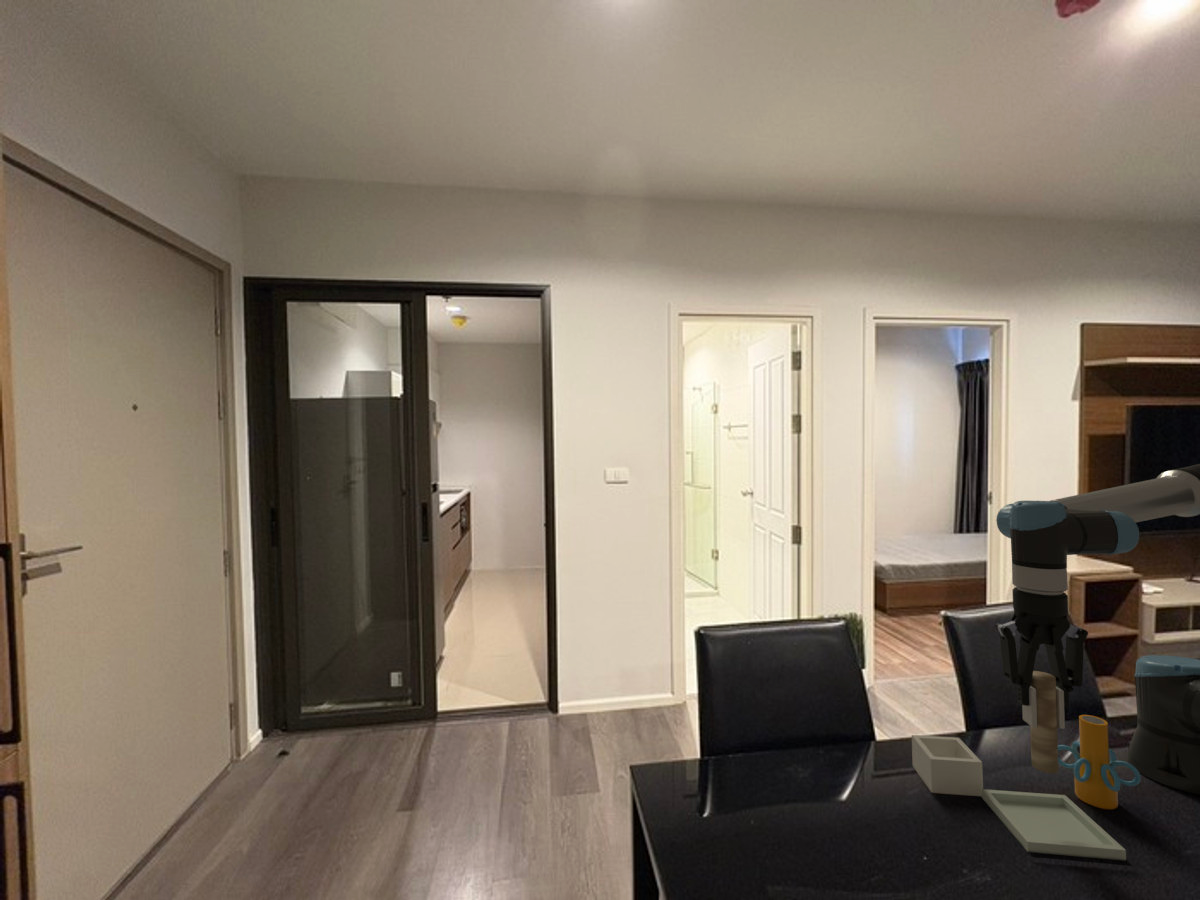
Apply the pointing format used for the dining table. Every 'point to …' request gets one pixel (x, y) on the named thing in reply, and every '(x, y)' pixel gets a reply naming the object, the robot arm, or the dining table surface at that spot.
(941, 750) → the hollow square block
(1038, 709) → the dowel
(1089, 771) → the tube with teal loops
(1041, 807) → the tray
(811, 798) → the dining table surface
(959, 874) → the dining table surface
